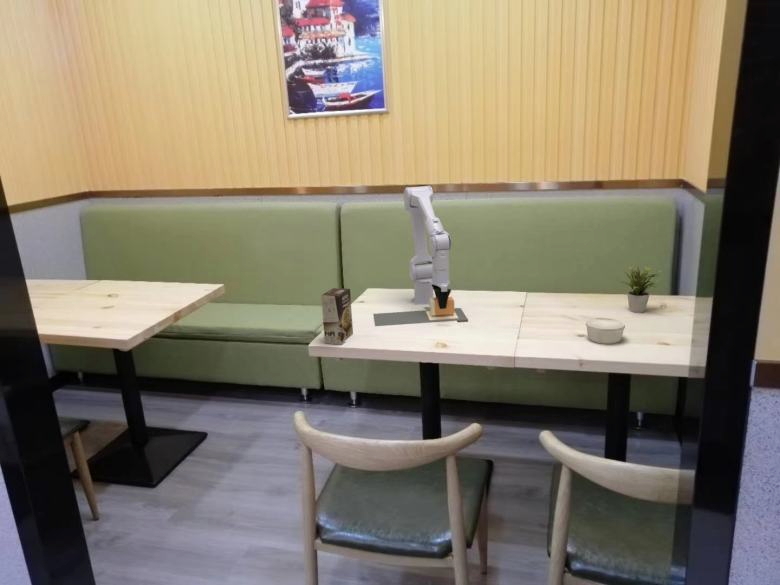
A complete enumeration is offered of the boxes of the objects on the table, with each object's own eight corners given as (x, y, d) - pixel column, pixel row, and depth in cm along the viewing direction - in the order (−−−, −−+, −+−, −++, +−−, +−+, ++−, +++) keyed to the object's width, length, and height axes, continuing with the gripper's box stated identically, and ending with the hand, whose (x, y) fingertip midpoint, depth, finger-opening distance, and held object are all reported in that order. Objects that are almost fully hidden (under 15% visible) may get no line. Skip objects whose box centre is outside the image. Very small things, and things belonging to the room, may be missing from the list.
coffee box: (342, 345, 184) (338, 295, 180) (324, 343, 186) (320, 294, 182) (354, 335, 192) (350, 288, 188) (336, 334, 194) (332, 287, 190)
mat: (373, 315, 212) (373, 313, 212) (460, 309, 214) (460, 307, 213) (375, 327, 198) (375, 326, 198) (468, 321, 200) (468, 319, 200)
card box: (452, 310, 208) (451, 296, 207) (454, 313, 204) (454, 300, 203) (429, 311, 208) (429, 298, 207) (431, 315, 204) (431, 301, 202)
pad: (425, 311, 211) (425, 311, 211) (453, 310, 211) (453, 309, 211) (429, 320, 201) (429, 319, 201) (458, 318, 202) (458, 318, 202)
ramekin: (621, 333, 182) (622, 317, 181) (626, 346, 172) (627, 329, 170) (583, 332, 185) (584, 316, 183) (586, 345, 174) (587, 328, 173)
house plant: (657, 320, 192) (661, 271, 188) (613, 315, 199) (616, 268, 195) (662, 308, 204) (666, 262, 200) (620, 303, 211) (623, 259, 206)
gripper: (426, 264, 209) (427, 301, 212) (432, 274, 195) (433, 313, 198) (446, 263, 209) (446, 299, 213) (453, 272, 195) (453, 311, 199)
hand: (441, 306), depth 205 cm, fingers closed on card box, 4 cm apart
